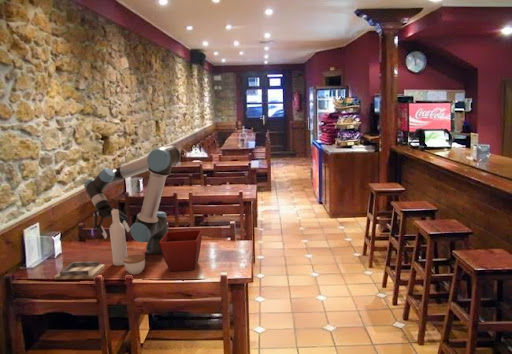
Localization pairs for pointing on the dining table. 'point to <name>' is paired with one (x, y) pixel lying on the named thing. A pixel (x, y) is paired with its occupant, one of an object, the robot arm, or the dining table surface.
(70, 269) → the shallow rectangular tray
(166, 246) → the plant pot
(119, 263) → the bottle
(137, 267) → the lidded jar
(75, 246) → the dining table surface
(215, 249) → the dining table surface
